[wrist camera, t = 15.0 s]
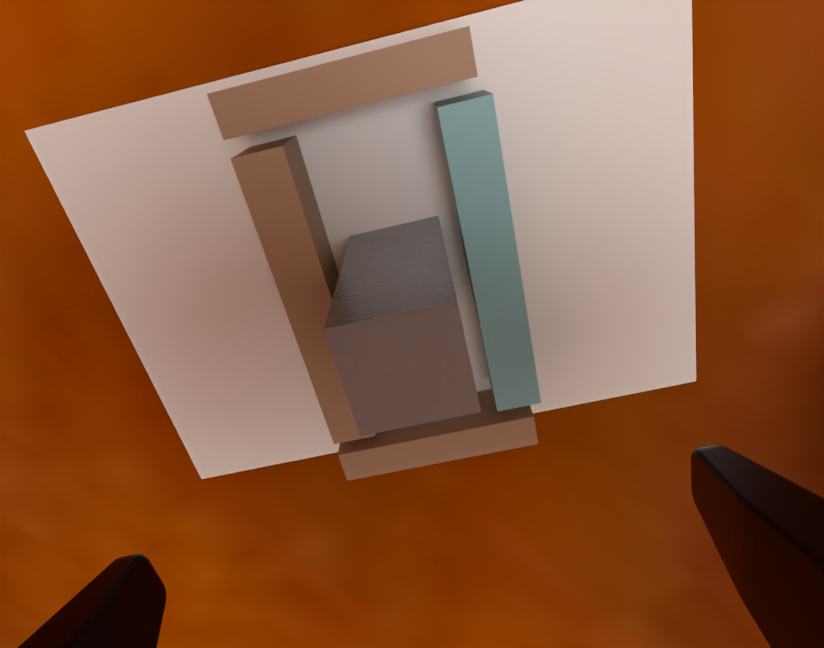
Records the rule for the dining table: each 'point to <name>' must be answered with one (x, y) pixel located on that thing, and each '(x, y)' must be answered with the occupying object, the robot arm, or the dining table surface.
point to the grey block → (400, 330)
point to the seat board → (395, 222)
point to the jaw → (489, 244)
